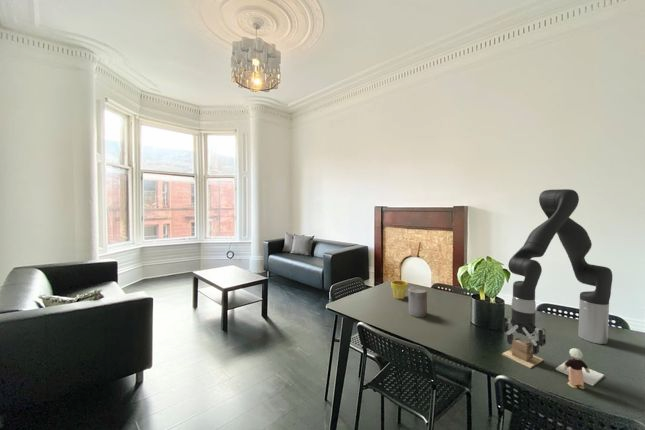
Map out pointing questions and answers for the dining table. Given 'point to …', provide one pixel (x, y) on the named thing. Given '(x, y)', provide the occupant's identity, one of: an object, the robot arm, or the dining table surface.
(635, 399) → the dining table surface
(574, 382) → the grandmother figurine
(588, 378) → the pad
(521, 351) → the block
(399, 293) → the plant pot
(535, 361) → the pad
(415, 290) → the pillar candle
